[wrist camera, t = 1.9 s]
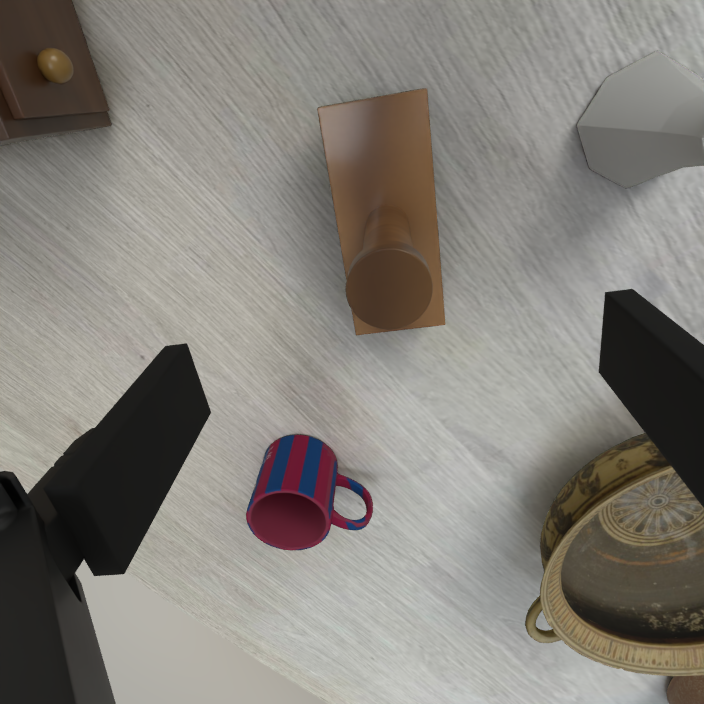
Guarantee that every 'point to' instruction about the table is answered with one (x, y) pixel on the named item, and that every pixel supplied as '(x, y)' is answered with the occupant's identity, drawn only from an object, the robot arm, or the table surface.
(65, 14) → the cabinet
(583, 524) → the ceramic bowl
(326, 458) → the mug
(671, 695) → the planter
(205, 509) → the table surface
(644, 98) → the flask
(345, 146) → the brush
